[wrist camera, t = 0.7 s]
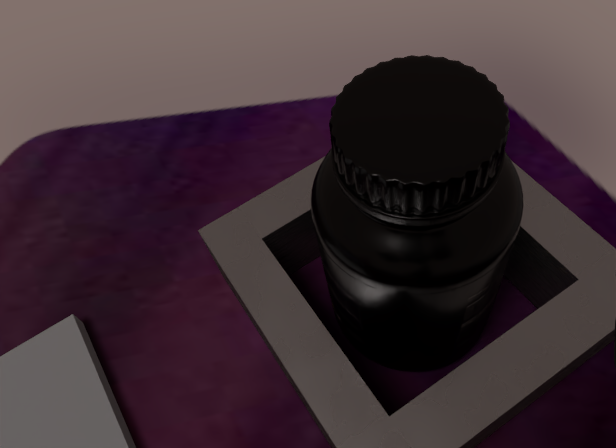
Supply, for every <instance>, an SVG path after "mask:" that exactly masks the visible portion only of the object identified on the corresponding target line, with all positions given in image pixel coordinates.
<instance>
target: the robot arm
mask: <svg viewBox="0 0 616 448" xmlns="http://www.w3.org/2000/svg"><path fill="white" fill-rule="evenodd" d="M614 362H615V367H616V319H615V342H614Z"/></svg>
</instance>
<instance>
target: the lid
mask: <svg viewBox="0 0 616 448" xmlns="http://www.w3.org/2000/svg"><path fill="white" fill-rule="evenodd" d="M0 448H136V446H135V444H134V442H133V439H132V437H131V434H130V432H129V430H128V427H127V425H126V423H125V420H124V418H123V416H122V413H121V411H120V409H119V406H118V404H117V402H116V399H115V397H114V395H113V392H112V390H111V388H110V385H109V383H108V380H107V378H106V376H105V373H104V371H103V369H102V366H101V364H100V362H99V359H98V357H97V355H96V352H95V350H94V348H93V345H92V343H91V341H90V338H89V336H88V333H87V331H86V329H85V326H84V324H83V322H82V321H80V320H79V319H78V318H77V317H76V316H74V315H73V314H72V315H71V316H69V317H67V318H66V319H64V320H62V321H60V322H59V323H57V324H55V325H54V326H52V327H50V328H48V329H47V330H45V331H43V332H42V333H40V334H38V335H37V336H35V337H33V338H31V339H30V340H28V341H26V342H25V343H23V344H21V345H19V346H18V347H16V348H14V349H13V350H11V351H9V352H8V353H6V354H4V355H2V356H1V357H0Z"/></svg>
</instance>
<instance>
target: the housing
mask: <svg viewBox="0 0 616 448" xmlns="http://www.w3.org/2000/svg"><path fill="white" fill-rule="evenodd" d="M324 158H325V157H323V158H322V159H320V160H318V161H317V162H315V163H313V164H311V165H310V166H308V167H306V168H305V169H303V170H301V171H299V172H298V173H296V174H294V175H293V176H291V177H289V178H287V179H286V180H284V181H282V182H281V183H279V184H277V185H275V186H274V187H272V188H270V189H268V190H267V191H265V192H263V193H262V194H260V195H258V196H256V197H255V198H253V199H251V200H250V201H248V202H246V203H244V204H243V205H241V206H239V207H238V208H236V209H234V210H232V211H231V212H229V213H227V214H226V215H224V216H222V217H220V218H219V219H217V220H215V221H214V222H212V223H210V224H208V225H207V226H205V227H203V228H201V229H200V230H198V232H199V233H200V235H201V237H202V239H203V241H204V243H205V244H206V246H207V248H208V250H209V252H210V254H211V255H212V257H213V259H214V261H215V263H216V265H217V266H218V268H219V270H220V272H221V274H222V275H223V277H224V278H225V280H226V282H227V283H228V285H229V286H230V288H231V290H232V291H233V293H234V294H235V296H236V297H237V299H238V301H239V302H240V304H241V305H242V307H243V308H244V310H245V312H246V313H247V315H248V316H249V318H250V320H251V321H252V323H253V324H254V326H255V327H256V329H257V331H258V332H259V334H260V335H261V337H262V339H263V340H264V342H265V343H266V345H267V346H268V348H269V350H270V351H271V353H272V354H273V356H274V357H275V359H276V361H277V362H278V364H279V365H280V367H281V369H282V370H283V372H284V373H285V375H286V376H287V378H288V380H289V381H290V383H291V384H292V386H293V388H294V389H295V391H296V392H297V394H298V395H299V397H300V399H301V400H302V402H303V403H304V405H305V406H306V408H307V410H308V411H309V413H310V414H311V416H312V418H313V419H314V421H315V422H316V424H317V425H318V427H319V429H320V430H321V432H322V433H323V435H324V437H325V438H326V440H327V441H328V443H329V444H330V446H331V448H474V447H475V446H477V445H478V444H479V443H480V442H482V441H483V440H484V439H486V438H487V437H488V436H490V435H491V434H492V433H493V432H495V431H496V430H497V429H499V428H500V427H501V426H503V425H504V424H505V423H506V422H508V421H509V420H510V419H512V418H513V417H514V416H516V415H517V414H518V413H519V412H521V411H522V410H523V409H525V408H526V407H527V406H529V405H530V404H531V403H533V402H534V401H535V400H536V399H538V398H539V397H540V396H542V395H543V394H544V393H546V392H547V391H548V390H549V389H551V388H552V387H553V386H555V385H556V384H557V383H559V382H560V381H561V380H562V379H564V378H565V377H566V376H568V375H569V374H570V373H572V372H573V371H574V370H575V369H577V368H578V367H579V366H581V365H582V364H583V363H585V362H586V361H587V360H588V359H590V358H591V357H592V356H594V355H595V354H596V353H598V352H599V351H600V350H601V349H603V348H604V347H605V346H607V345H608V344H609V343H611V342H612V341H613V340H614V339H615V319H616V249H615V248H614V247H613V246H612V245H610V244H609V243H608V242H607V241H606V240H604V239H603V238H602V237H601V236H600V235H599V234H597V233H596V232H595V231H594V230H593V229H591V228H590V227H589V226H588V225H587V224H586V223H584V222H583V221H582V220H581V219H580V218H578V217H577V216H576V215H575V214H574V213H573V212H571V211H570V210H569V209H568V208H567V207H565V206H564V205H563V204H562V203H561V202H560V201H558V200H557V199H556V198H555V197H554V196H552V195H551V194H550V193H549V192H548V191H547V190H545V189H544V188H543V187H542V186H541V185H539V184H538V183H537V182H536V181H535V180H534V179H532V178H531V177H530V176H529V175H528V174H526V173H525V172H524V171H523V170H522V169H521V168H519V167H518V166H517V165H516V164H515V163H513V162H512V163H513V165H514V167H515V169H516V171H517V173H518V176H519V179H520V182H521V186H522V191H523V204H524V206H523V215H522V220H521V224H520V229H519V232H518V235H517V238H516V241H515V244H514V247H513V249H512V252H511V255H510V258H509V261H508V264H507V266H506V269H505V272H504V275H505V276H506V277H507V278H508V279H509V280H510V281H511V282H512V283H513V284H514V285H515V286H516V287H517V288H518V289H519V290H520V291H521V292H522V293H523V294H524V295H525V296H526V297H527V298H528V299H529V300H530V301H531V302H532V303H533V304H534V305H535V306H536V307H537V308H538V309H537V310H536V311H535V312H533V313H532V314H531V315H529V316H528V317H526V318H525V319H524V320H522V321H521V322H519V323H518V324H517V325H515V326H514V327H513V328H511V329H510V330H508V331H507V332H506V333H504V334H503V335H502V336H500V337H499V338H497V339H496V340H495V341H493V342H492V343H490V344H489V345H488V346H486V347H485V348H484V349H482V350H481V351H479V352H478V353H477V354H475V355H474V356H472V357H471V358H470V359H468V360H467V361H466V362H464V363H463V364H461V365H460V366H459V367H457V368H456V369H455V370H453V371H452V372H450V373H449V374H448V375H446V376H445V377H443V378H442V379H441V380H439V381H438V382H437V383H435V384H434V385H432V386H431V387H430V388H428V389H427V390H425V391H424V392H423V393H421V394H420V395H419V396H417V397H416V398H414V399H413V400H412V401H410V402H409V403H408V404H406V405H405V406H403V407H402V408H401V409H399V410H398V411H396V412H395V413H394V414H392V415H391V416H390V417H389V416H388V414H387V413H386V412H385V410H384V409H383V407H382V406H381V405H380V403H379V402H378V400H377V399H376V398H375V396H374V395H373V393H372V392H371V391H370V389H369V388H368V386H367V385H366V384H365V382H364V381H363V379H362V378H361V377H360V375H359V374H358V372H357V371H356V370H355V368H354V367H353V366H352V364H351V363H350V361H349V360H348V359H347V357H346V356H345V354H344V353H343V352H342V350H341V349H340V347H339V346H338V345H337V343H336V342H335V340H334V339H333V338H332V336H331V335H330V333H329V332H328V331H327V329H326V328H325V326H324V325H323V324H322V322H321V321H320V320H319V318H318V317H317V315H316V314H315V313H314V311H313V310H312V308H311V307H310V306H309V304H308V303H307V301H306V300H305V299H304V297H303V296H302V294H301V293H300V292H299V290H298V289H297V287H296V286H295V285H294V283H293V282H292V280H291V279H290V278H289V276H288V275H290V274H291V273H293V272H295V271H296V270H298V269H299V268H301V267H303V266H304V265H306V264H307V263H309V262H311V261H312V260H314V259H315V258H317V257H319V256H320V251H319V247H318V243H317V239H316V234H315V230H314V226H313V220H312V213H311V191H312V186H313V182H314V178H315V176H316V173H317V171H318V169H319V166H320V164H321V163H322V161H323V159H324Z"/></svg>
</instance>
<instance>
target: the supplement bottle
mask: <svg viewBox="0 0 616 448" xmlns="http://www.w3.org/2000/svg"><path fill="white" fill-rule="evenodd" d="M331 116H332V117H331V119H330V123H329V127H330V134H331V144H332V148H331V149H330V151H329V152H328V153H327V155H326V156H325V158H324V159H323V161H322V163H321V164H320V166H319V169H318V171H317V173H316V176H315V178H314V182H313V186H312V191H311V213H312V220H313V226H314V230H315V234H316V239H317V243H318V247H319V251H320V255H321V260H322V264H323V268H324V272H325V277H326V281H327V285H328V289H329V293H330V298H331V302H332V306H333V309H334V313H335V316H336V319H337V322H338V324H339V326H340V328H341V330H342V332H343V334H344V335H345V337H346V338H347V339H348V341H349V342H350V343H351V344H352V345H353V346H354V347H355V348H356V349H357V350H358V351H359V352H360V353H361V354H363V355H364V356H365V357H367V358H368V359H370V360H372V361H374V362H376V363H378V364H380V365H382V366H385V367H388V368H391V369H396V370H401V371H426V370H432V369H435V368H439V367H442V366H445V365H447V364H449V363H451V362H453V361H455V360H456V359H458V358H460V357H461V356H462V355H463V354H465V353H466V352H467V351H468V350H469V349H470V348H471V347H472V346H473V345H474V343H475V342H476V341H477V339H478V338H479V336H480V335H481V333H482V331H483V329H484V327H485V325H486V322H487V320H488V317H489V314H490V312H491V309H492V306H493V303H494V300H495V298H496V295H497V292H498V289H499V286H500V283H501V281H502V278H503V275H504V272H505V269H506V266H507V264H508V261H509V258H510V255H511V252H512V249H513V247H514V244H515V241H516V238H517V235H518V232H519V229H520V224H521V220H522V215H523V206H524V204H523V191H522V186H521V182H520V179H519V176H518V173H517V171H516V169H515V167H514V165H513V163H512V161H511V160H510V158H509V157H508V155H507V154H506V152H505V146H506V141H507V135H508V131H509V126H510V122H509V119H508V107H507V106H506V105H505V103H504V96H503V95H502V94H501V93H500V92H499V91H498V90H497V86H496V85H495V84H494V83H492V82H491V81H489V80H488V78H487V77H486V75H484V74H482V73H479V72H477V71H476V70H475V69H474V68H473V67H471V66H466V65H464V64H462V63H461V62H459V61H453V60H448V59H446V58H444V57H432V56H428V55H426V56H420V57H418V56H407V57H404V58H394V59H392V60H390V61H386V62H380V63H379V64H377V65H376V66H375V67H371V68H367V69H366V70H365V71H364V72H363V73H362V74H360V75H357V76H355V77H354V78H353V80H352V81H351V82H350V83H348V84H347V85H345V86H344V88H343V91H342V92H341V93H340V94H339V95H338V96H337V97H336V104H335V105H334V106H333V107H332V109H331Z"/></svg>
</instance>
